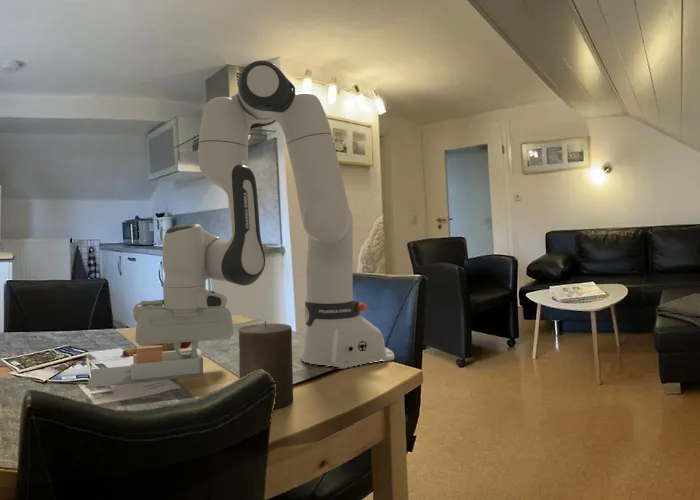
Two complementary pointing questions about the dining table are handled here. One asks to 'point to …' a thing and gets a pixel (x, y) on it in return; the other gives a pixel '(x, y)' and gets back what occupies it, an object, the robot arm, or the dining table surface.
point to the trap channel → (149, 370)
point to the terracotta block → (149, 354)
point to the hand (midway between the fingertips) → (186, 361)
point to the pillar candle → (269, 356)
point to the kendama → (164, 346)
